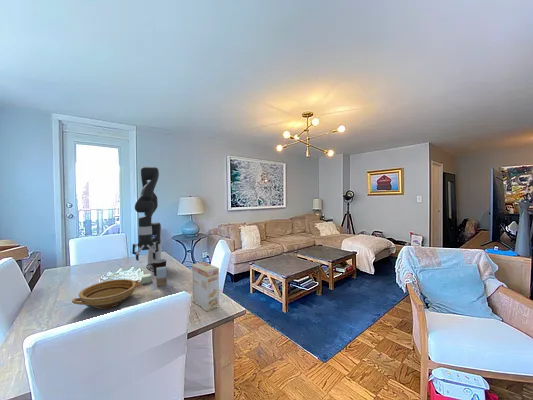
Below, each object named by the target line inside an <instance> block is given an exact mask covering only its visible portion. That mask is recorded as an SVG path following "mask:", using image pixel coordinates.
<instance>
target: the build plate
mask: <svg viewBox="0 0 533 400" xmlns="http://www.w3.org/2000/svg"><path fill="white" fill-rule="evenodd" d="M149 287H150V291H157V290H162V289H168V288H174V284H173V281H172V279H166V286H161V287H157V281H154V282H150V284H149Z"/></svg>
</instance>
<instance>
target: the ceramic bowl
mask: <svg viewBox="0 0 533 400" xmlns="http://www.w3.org/2000/svg"><path fill="white" fill-rule="evenodd" d="M140 285H141V282H140V281H139V280H133V279H128V278H119V279H110V280H105V281H102V282H97V283H95V284H91V285H90V286H86V287H85V288H84V289H82V290H80V291H79V293H78V298H77V297H76V298H72V299H71V302H72V303H73V304H75V305H81V306H83V305H85V306H87V307H92V308H97V309H104V310H105V309H110V308H113V307H116V306H118V305H120V304H121V302H123V301H126V300H127V299H128V298H129V297H131V296H132V294H133V293H134V292H135V289H136V288H138V287H139V286H140Z"/></svg>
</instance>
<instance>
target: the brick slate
mask: <svg viewBox="0 0 533 400" xmlns="http://www.w3.org/2000/svg"><path fill="white" fill-rule="evenodd" d="M166 266H167V265H166ZM166 266H165V267H158V268H157V276H156V280H157V279H158V278H165V277H166V278H167V267H166Z"/></svg>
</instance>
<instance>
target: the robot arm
mask: <svg viewBox="0 0 533 400" xmlns="http://www.w3.org/2000/svg"><path fill="white" fill-rule="evenodd" d="M159 176H160V172H159V168H158V167H155V166H142V167H141V168H140V178H141V179H140V180H141V185H142V186H141V187H142V189H141V191H140V196H139V197H138V199H137V201H136V202H135V204H134V210H135V212H137V213H141V214H142V213H144V215H143V216H140V217H138V230H137V231H138V233H137V234H138V235H137V237H138V239H137V240H138V243H132V252H131V253H132V255H135V260H136V261H137V262H138V261H139V255H140V252H141V251H147V253H146V254H147V265H148V264H153V263H152V262H153V261H154V260H158V259H162V243H161V241H162V238H161V235H162V224H161V223H160V222H152V219H153V218H152V217H153V215H154V214H155V212H156V210H157V209H158V206H159V205H158V203H159V201H158V196H157V195H156V193H155V191H154V190H155V188H156V186H157V183H158V182H159V181H158V180H159ZM153 236H154V237H153ZM137 247H138V249H137V251H136V248H137ZM147 268H148V269H153V266H152V265H148V266H147Z"/></svg>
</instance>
